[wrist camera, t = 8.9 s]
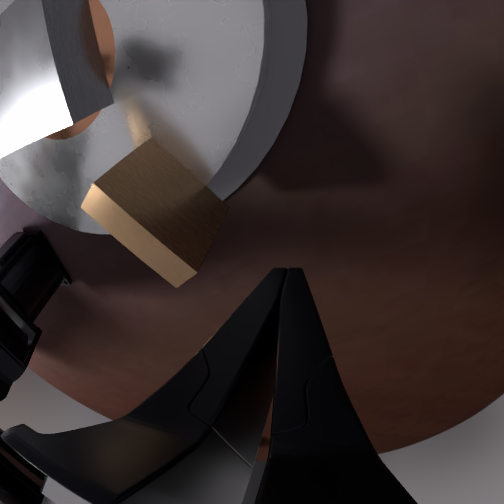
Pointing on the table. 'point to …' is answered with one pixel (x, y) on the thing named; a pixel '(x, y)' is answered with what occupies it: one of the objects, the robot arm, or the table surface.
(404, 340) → the table surface
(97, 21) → the turntable
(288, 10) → the turntable base
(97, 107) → the grey square block
